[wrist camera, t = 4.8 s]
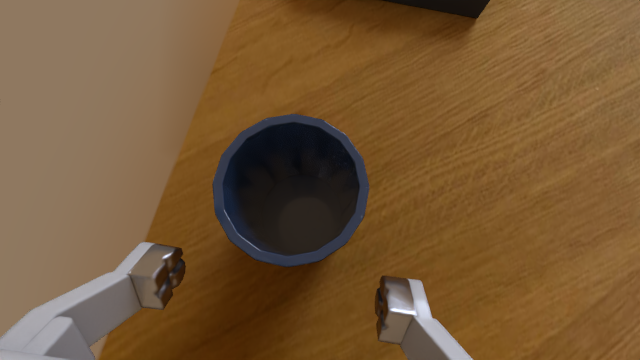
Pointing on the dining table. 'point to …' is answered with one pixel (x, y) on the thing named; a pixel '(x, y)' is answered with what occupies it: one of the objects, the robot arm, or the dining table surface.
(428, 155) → the dining table surface
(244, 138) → the cup
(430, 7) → the scale
